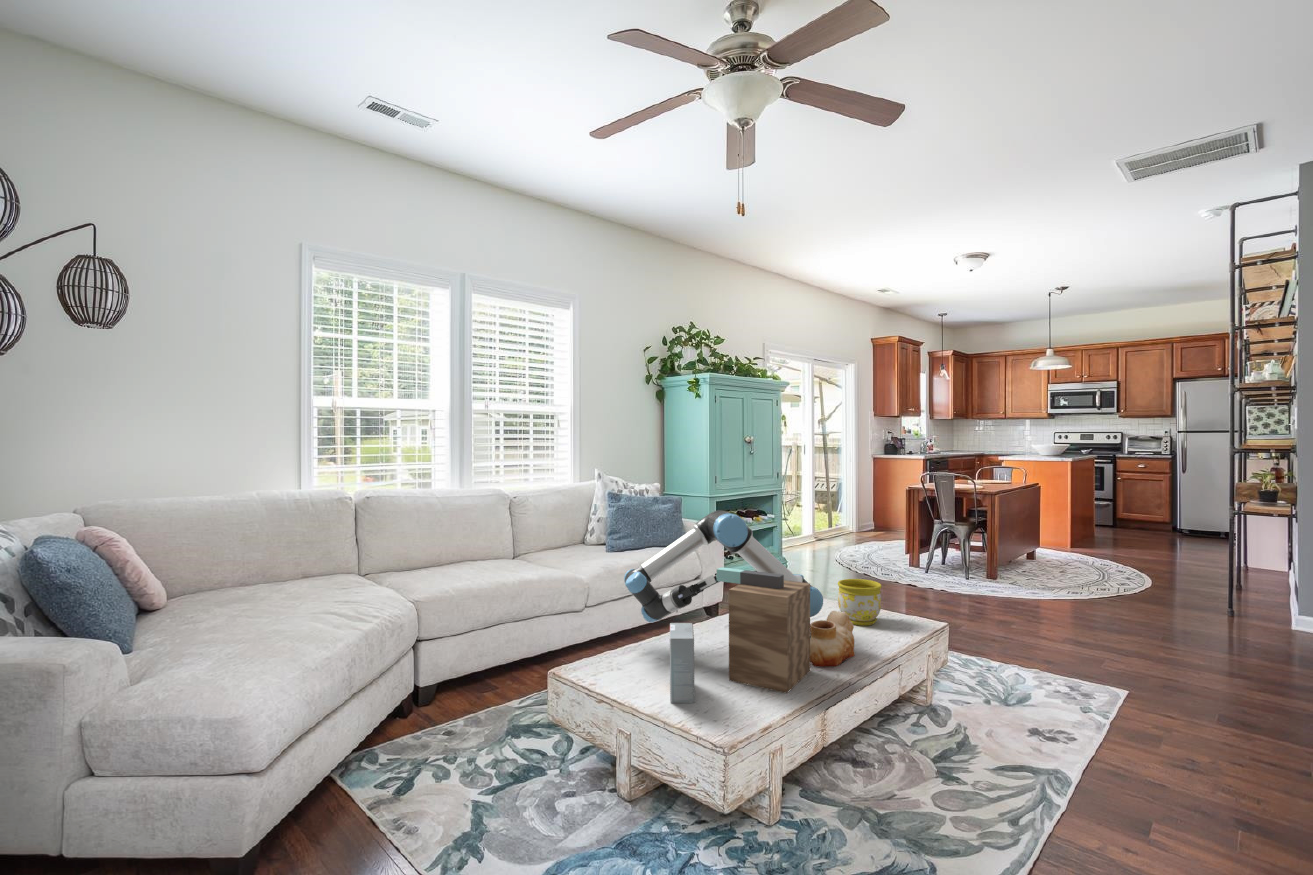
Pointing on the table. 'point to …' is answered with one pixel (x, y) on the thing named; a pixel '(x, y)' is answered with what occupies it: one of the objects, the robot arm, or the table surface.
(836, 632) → the ceramic vessel
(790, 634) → the upright wooden block
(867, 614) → the flowerpot
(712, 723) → the table surface
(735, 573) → the bar
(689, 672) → the hard drive box
